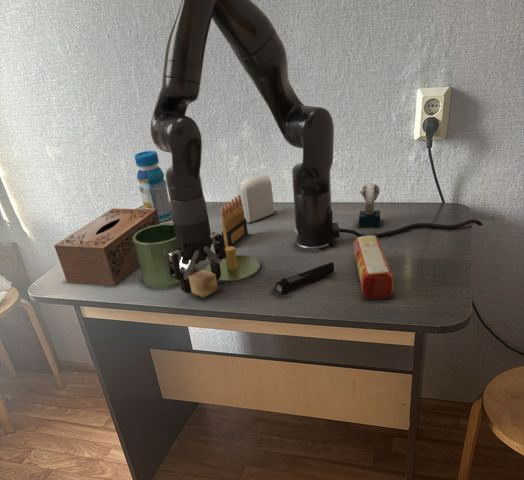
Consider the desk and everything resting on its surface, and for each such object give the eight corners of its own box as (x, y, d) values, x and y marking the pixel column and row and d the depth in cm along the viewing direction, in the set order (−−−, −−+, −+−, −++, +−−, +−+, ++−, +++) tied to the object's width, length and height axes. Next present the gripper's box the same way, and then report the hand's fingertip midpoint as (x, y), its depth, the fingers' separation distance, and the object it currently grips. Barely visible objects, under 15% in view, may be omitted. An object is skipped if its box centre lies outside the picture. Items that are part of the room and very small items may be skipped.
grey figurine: (380, 218, 144) (381, 179, 138) (379, 229, 138) (380, 189, 132) (359, 219, 146) (360, 180, 139) (358, 230, 139) (358, 189, 133)
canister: (196, 264, 132) (188, 221, 125) (191, 286, 121) (181, 241, 115) (149, 268, 133) (138, 226, 126) (139, 291, 122) (127, 246, 116)
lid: (260, 257, 131) (258, 234, 128) (260, 281, 120) (257, 257, 117) (208, 262, 132) (204, 239, 129) (202, 286, 121) (198, 263, 117)
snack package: (352, 259, 125) (352, 232, 121) (380, 257, 124) (380, 230, 120) (361, 302, 107) (361, 272, 104) (393, 300, 107) (394, 270, 103)
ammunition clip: (229, 250, 137) (223, 206, 130) (223, 250, 137) (217, 206, 131) (248, 235, 144) (243, 193, 138) (242, 234, 145) (237, 192, 138)
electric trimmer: (338, 276, 118) (338, 264, 117) (282, 298, 112) (281, 285, 111) (328, 271, 121) (328, 259, 119) (273, 292, 115) (272, 279, 113)
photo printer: (249, 224, 152) (244, 182, 145) (241, 220, 154) (235, 179, 148) (276, 214, 156) (272, 172, 149) (267, 211, 159) (264, 170, 152)
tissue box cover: (121, 241, 150) (112, 208, 145) (164, 243, 146) (156, 209, 140) (67, 282, 131) (54, 245, 125) (114, 285, 126) (103, 248, 120)
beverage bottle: (170, 221, 160) (156, 155, 149) (144, 224, 161) (128, 158, 149) (174, 212, 167) (161, 148, 156) (149, 214, 168) (134, 151, 156)
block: (206, 286, 121) (203, 269, 118) (218, 291, 118) (215, 273, 115) (191, 294, 118) (187, 276, 116) (203, 299, 116) (200, 281, 113)
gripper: (173, 231, 102) (187, 302, 111) (227, 209, 109) (236, 278, 118) (152, 224, 106) (167, 293, 115) (205, 203, 114) (215, 270, 123)
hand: (202, 285), depth 117 cm, fingers open, 8 cm apart
